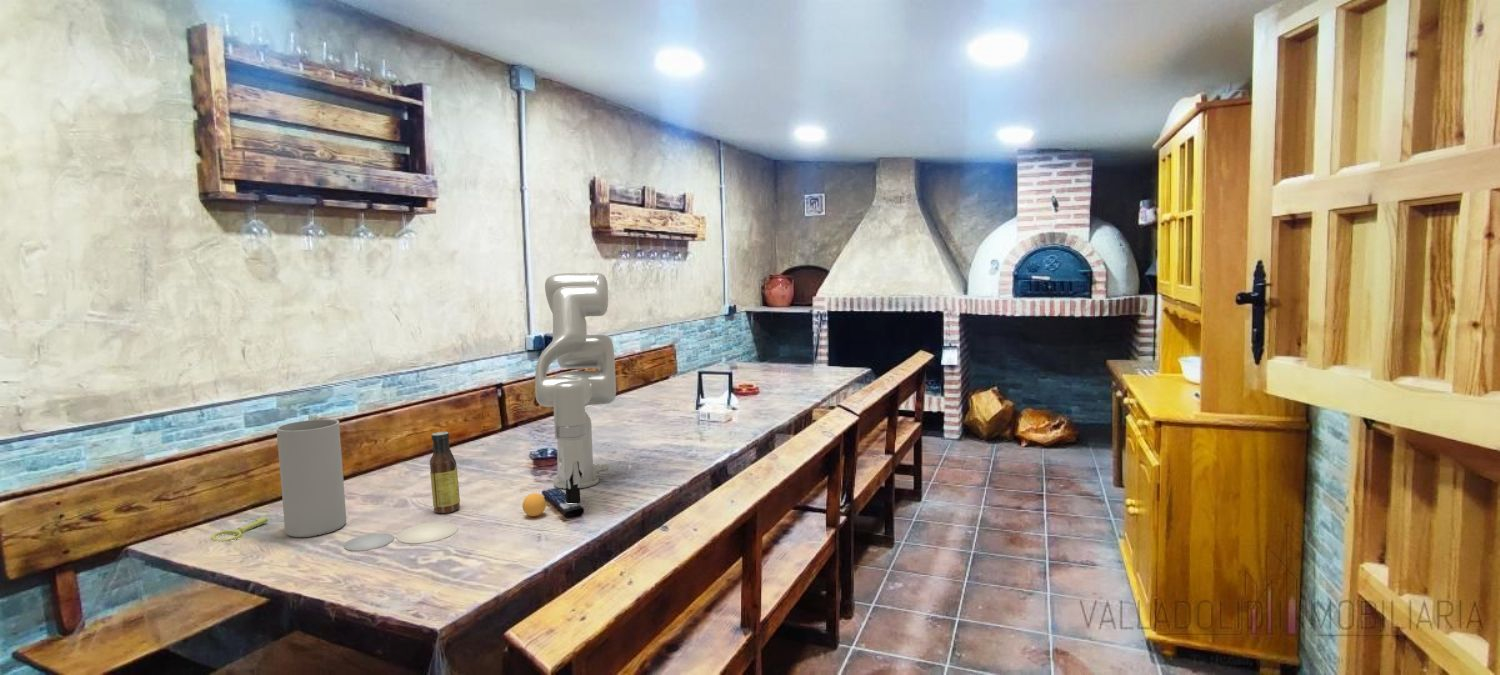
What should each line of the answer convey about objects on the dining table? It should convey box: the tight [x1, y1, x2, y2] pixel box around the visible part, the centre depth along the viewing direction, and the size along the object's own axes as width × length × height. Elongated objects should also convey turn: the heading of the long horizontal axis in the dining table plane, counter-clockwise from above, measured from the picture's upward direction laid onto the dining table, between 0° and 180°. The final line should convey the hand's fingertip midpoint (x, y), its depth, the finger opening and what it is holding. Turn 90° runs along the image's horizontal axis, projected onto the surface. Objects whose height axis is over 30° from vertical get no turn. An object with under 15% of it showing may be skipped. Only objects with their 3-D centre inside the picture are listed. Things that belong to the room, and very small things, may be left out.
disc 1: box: [343, 532, 395, 552], centre depth 163 cm, size 10×10×1 cm
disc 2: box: [396, 521, 459, 545], centre depth 168 cm, size 13×13×1 cm
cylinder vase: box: [276, 418, 347, 538], centre depth 171 cm, size 12×12×25 cm
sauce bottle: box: [429, 431, 461, 514], centre depth 183 cm, size 6×6×20 cm
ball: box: [522, 493, 547, 517], centre depth 178 cm, size 6×6×6 cm
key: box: [210, 516, 269, 543], centre depth 171 cm, size 7×12×2 cm, turn 179°
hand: (573, 503), depth 182 cm, fingers closed
